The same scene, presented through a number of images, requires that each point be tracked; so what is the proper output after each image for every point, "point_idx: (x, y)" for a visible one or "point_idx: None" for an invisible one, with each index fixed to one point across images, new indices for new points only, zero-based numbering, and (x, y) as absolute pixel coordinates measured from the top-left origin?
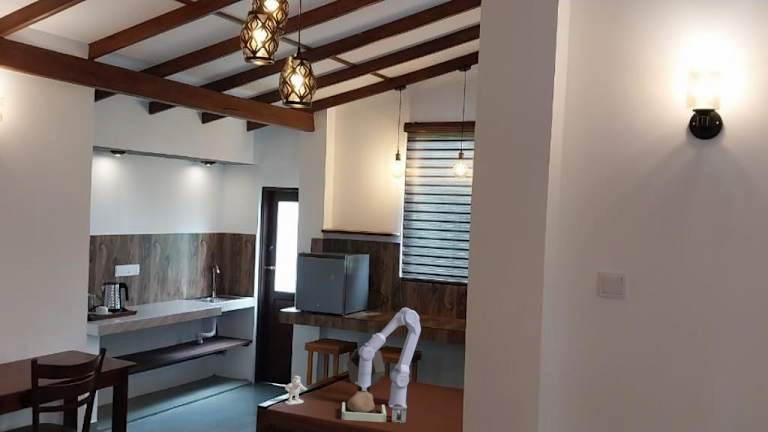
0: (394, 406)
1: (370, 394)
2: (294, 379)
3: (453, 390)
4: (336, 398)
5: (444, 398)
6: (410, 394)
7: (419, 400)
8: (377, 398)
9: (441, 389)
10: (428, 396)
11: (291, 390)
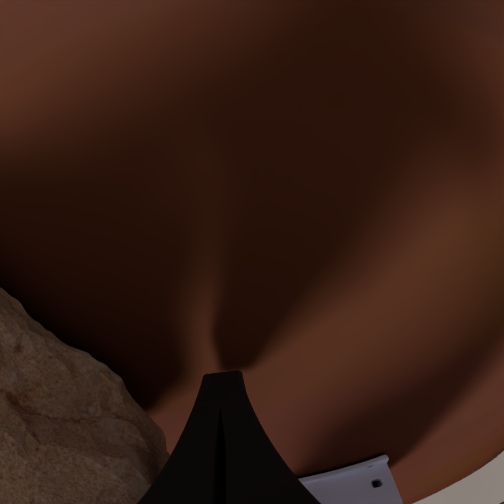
0: None
1: None
2: None
3: (485, 463)
4: (464, 30)
5: (423, 493)
6: (487, 436)
7: (409, 484)
8: (472, 385)
9: (500, 448)
10: (452, 471)
11: None
